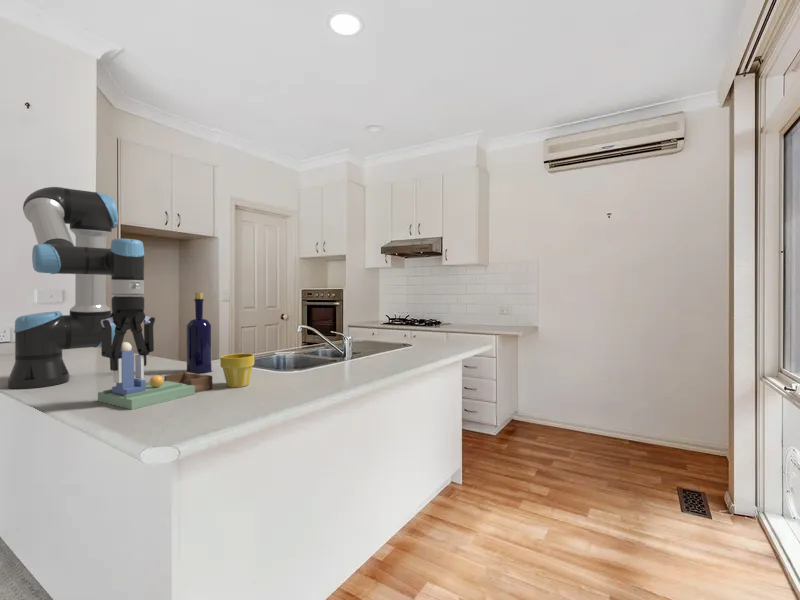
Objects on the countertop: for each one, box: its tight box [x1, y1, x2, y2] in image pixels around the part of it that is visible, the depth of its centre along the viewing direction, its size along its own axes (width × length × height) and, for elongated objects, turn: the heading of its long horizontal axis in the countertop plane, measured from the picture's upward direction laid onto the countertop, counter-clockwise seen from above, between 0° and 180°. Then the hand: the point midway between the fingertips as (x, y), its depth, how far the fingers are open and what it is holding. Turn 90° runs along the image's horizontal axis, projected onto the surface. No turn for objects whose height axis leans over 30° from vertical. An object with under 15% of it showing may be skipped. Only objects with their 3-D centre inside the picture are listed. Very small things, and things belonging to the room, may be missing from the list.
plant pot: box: [219, 352, 255, 388], centre depth 133 cm, size 10×10×10 cm
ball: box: [149, 375, 164, 387], centre depth 120 cm, size 4×4×4 cm
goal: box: [163, 371, 213, 393], centre depth 129 cm, size 13×7×4 cm, turn 63°
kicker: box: [111, 341, 147, 395], centre depth 113 cm, size 7×5×14 cm
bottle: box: [186, 292, 213, 375], centre depth 155 cm, size 9×9×30 cm
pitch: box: [97, 381, 195, 410], centre depth 118 cm, size 16×18×3 cm
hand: (129, 380), depth 113 cm, fingers closed on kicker, 5 cm apart
